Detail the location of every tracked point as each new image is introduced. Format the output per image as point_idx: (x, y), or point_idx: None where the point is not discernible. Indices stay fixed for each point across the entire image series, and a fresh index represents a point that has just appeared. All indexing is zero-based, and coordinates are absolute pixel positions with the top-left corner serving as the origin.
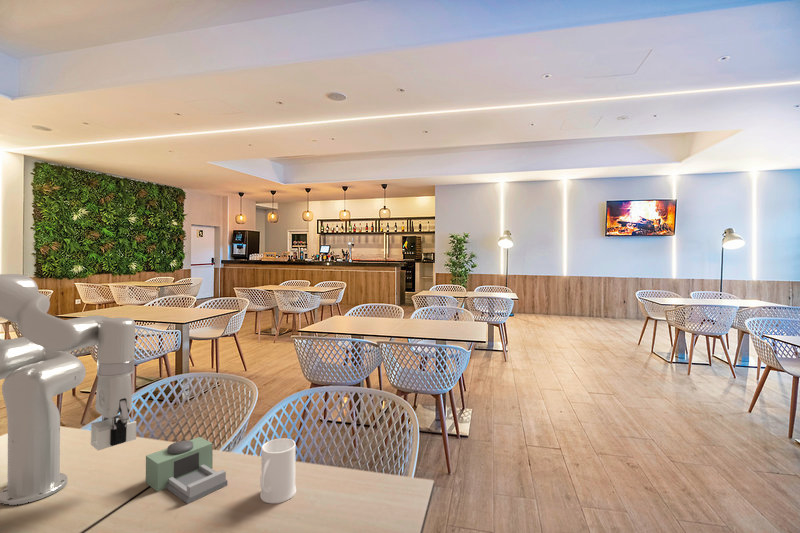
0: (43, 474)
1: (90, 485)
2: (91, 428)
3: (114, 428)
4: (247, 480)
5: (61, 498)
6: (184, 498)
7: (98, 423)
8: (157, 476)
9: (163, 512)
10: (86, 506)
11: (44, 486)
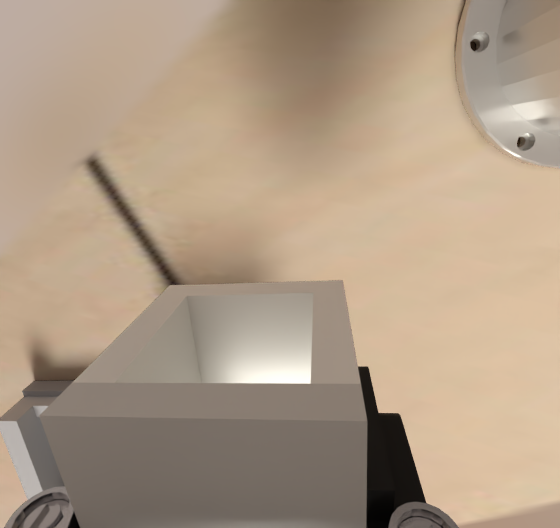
0: (548, 32)
1: (407, 224)
2: (346, 368)
3: (16, 512)
4: None
5: (389, 118)
6: (45, 387)
7: (271, 474)
8: None
9: (31, 325)
10: (241, 175)
11: (507, 57)
